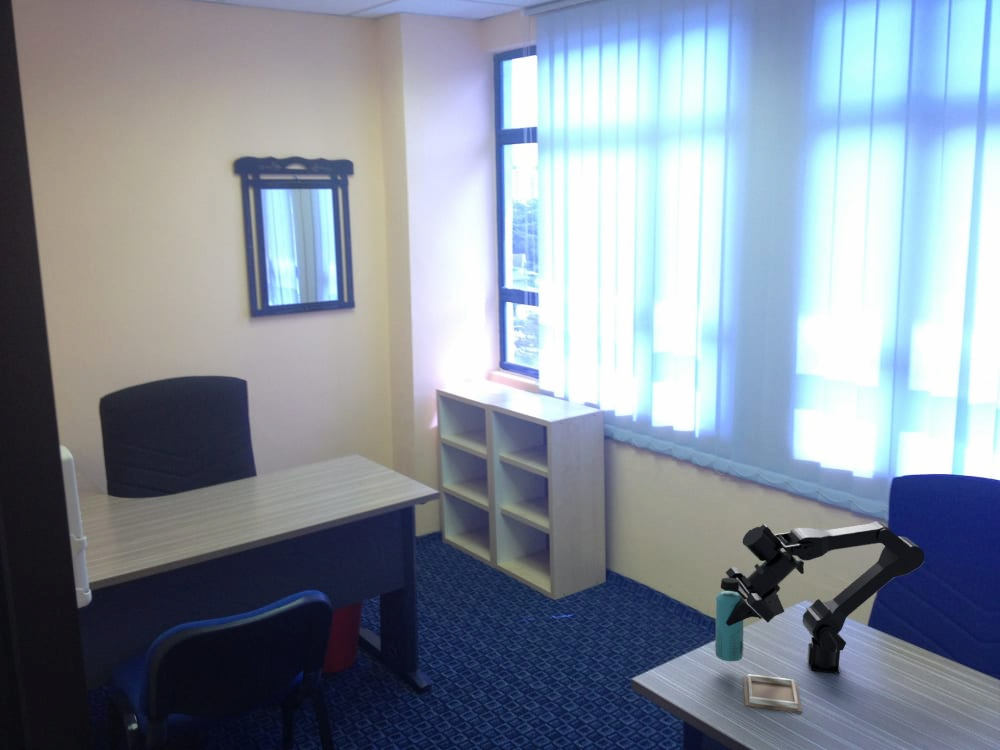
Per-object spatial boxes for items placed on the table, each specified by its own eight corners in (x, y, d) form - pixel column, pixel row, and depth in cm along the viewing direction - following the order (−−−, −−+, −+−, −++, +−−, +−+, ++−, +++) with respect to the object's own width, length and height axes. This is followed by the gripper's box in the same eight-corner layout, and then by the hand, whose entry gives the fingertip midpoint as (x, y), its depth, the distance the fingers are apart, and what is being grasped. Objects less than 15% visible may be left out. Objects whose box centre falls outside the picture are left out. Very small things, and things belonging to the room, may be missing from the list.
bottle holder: (797, 684, 208) (797, 677, 208) (802, 713, 197) (802, 706, 196) (743, 677, 211) (743, 671, 210) (745, 706, 199) (745, 699, 199)
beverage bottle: (743, 669, 209) (745, 584, 207) (714, 666, 210) (716, 582, 208) (742, 657, 215) (744, 575, 213) (713, 655, 216) (715, 574, 214)
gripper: (810, 612, 203) (759, 659, 204) (779, 577, 221) (732, 620, 222) (778, 581, 200) (726, 629, 202) (749, 548, 219) (702, 592, 220)
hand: (722, 618), depth 212 cm, fingers closed on beverage bottle, 6 cm apart
